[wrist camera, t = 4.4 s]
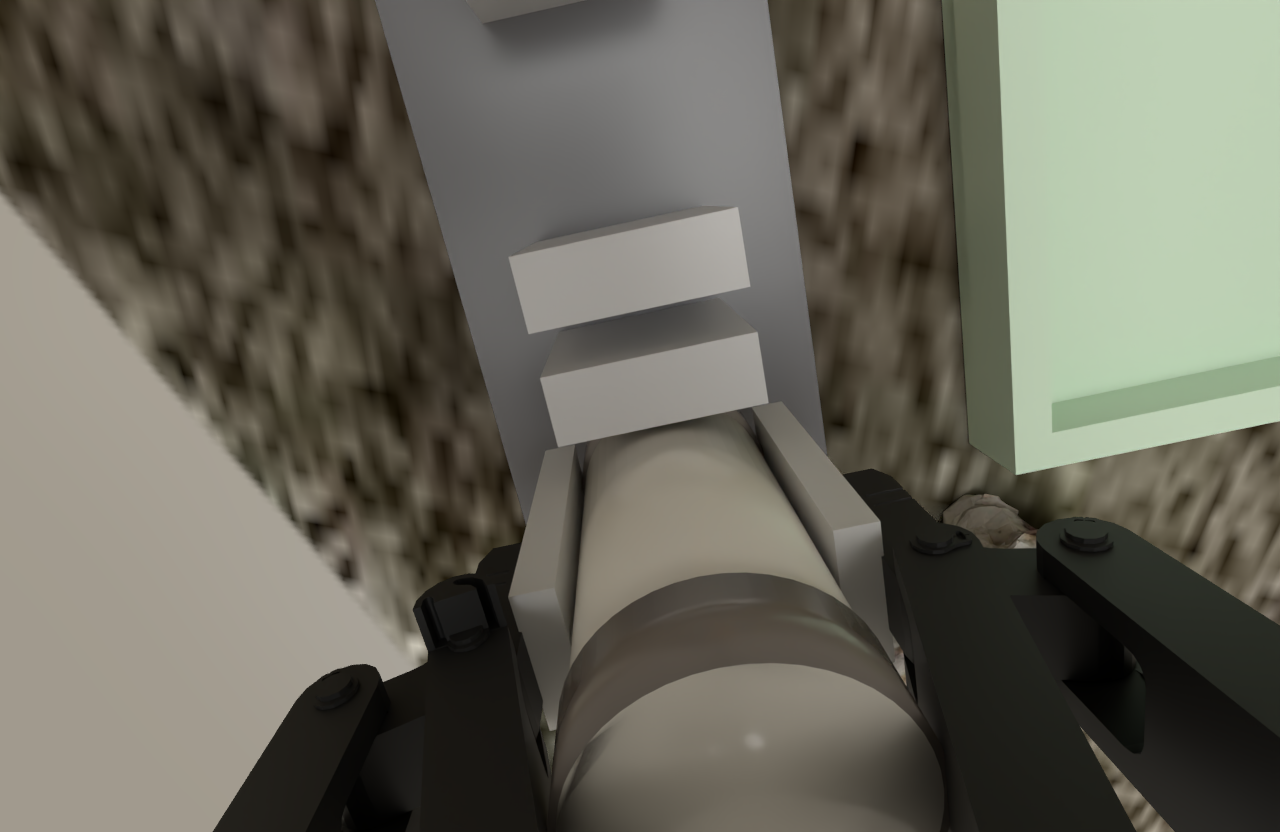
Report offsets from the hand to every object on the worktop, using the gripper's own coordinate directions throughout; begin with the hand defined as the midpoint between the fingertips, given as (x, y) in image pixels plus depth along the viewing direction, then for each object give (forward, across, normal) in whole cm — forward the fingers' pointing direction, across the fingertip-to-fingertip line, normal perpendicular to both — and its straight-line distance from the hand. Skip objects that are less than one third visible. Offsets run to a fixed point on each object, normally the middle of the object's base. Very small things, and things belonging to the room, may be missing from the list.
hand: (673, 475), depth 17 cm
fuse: (+1, 0, 0) cm, 1 cm away
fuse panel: (+3, 0, +4) cm, 5 cm away
